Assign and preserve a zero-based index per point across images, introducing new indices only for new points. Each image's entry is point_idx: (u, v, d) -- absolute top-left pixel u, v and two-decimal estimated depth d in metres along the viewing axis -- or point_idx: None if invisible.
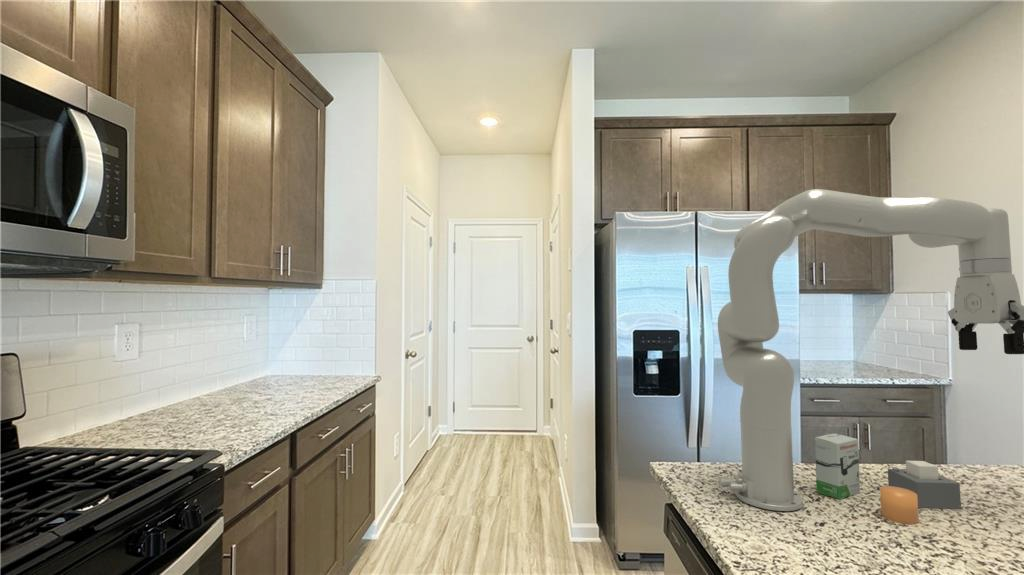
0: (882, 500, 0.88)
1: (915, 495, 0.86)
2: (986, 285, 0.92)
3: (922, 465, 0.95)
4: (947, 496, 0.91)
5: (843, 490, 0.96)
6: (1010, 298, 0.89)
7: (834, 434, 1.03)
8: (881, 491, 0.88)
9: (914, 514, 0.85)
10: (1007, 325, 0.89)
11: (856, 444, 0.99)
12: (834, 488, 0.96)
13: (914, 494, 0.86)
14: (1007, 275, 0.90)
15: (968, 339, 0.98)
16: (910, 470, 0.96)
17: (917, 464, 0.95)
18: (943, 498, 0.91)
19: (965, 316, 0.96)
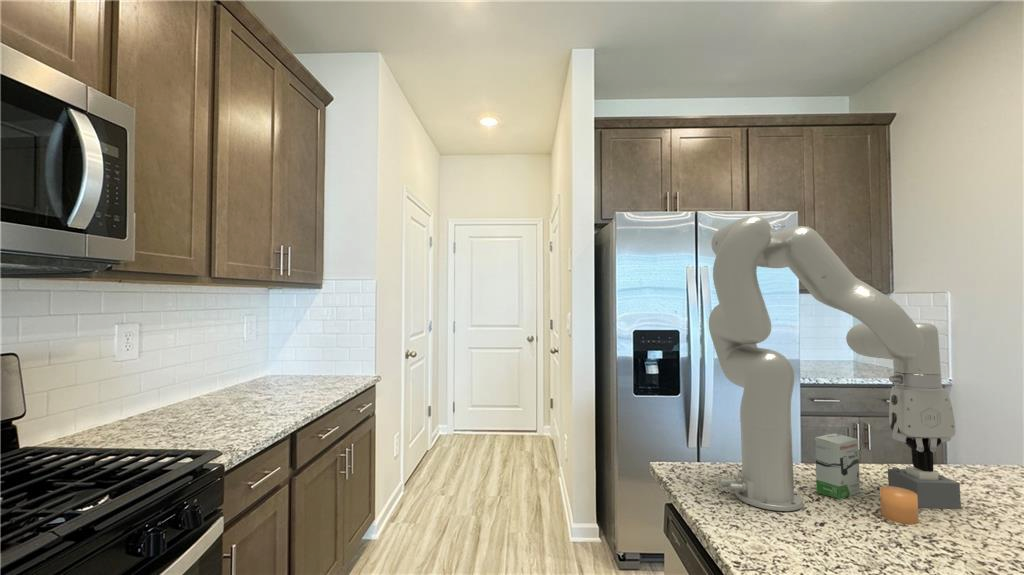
0: (882, 500, 0.88)
1: (915, 495, 0.86)
2: (944, 400, 0.94)
3: (922, 471, 0.94)
4: (947, 496, 0.91)
5: (843, 490, 0.96)
6: None
7: (834, 434, 1.03)
8: (881, 491, 0.88)
9: (914, 514, 0.85)
10: (935, 444, 0.94)
11: (856, 444, 0.99)
12: (834, 488, 0.96)
13: (914, 494, 0.86)
14: None
15: None
16: (910, 475, 0.96)
17: (917, 470, 0.95)
18: (943, 498, 0.91)
19: (921, 431, 0.93)
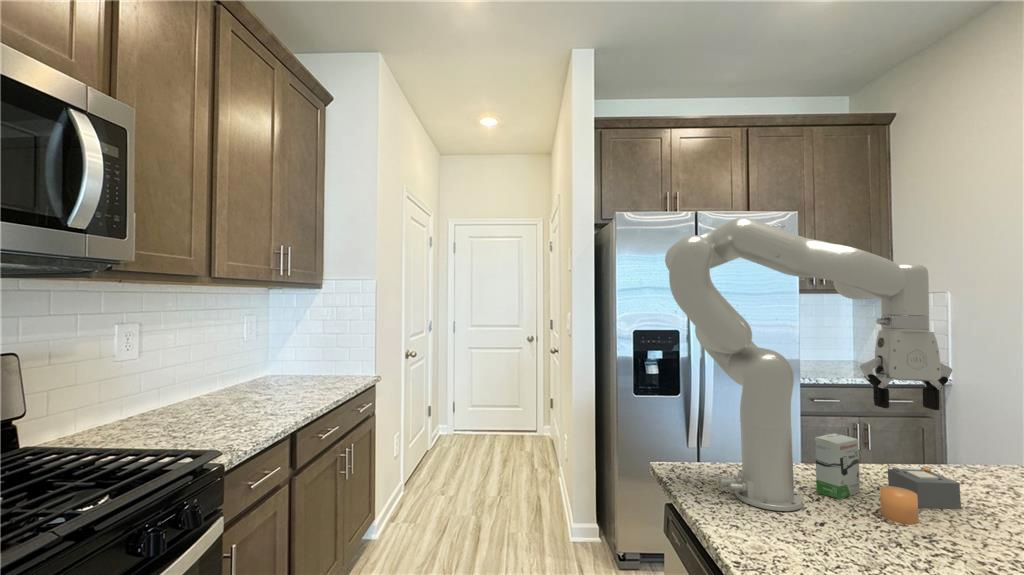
0: (882, 500, 0.88)
1: (915, 495, 0.86)
2: (931, 342, 0.91)
3: (923, 476, 0.94)
4: (947, 496, 0.91)
5: (843, 490, 0.96)
6: None
7: (834, 434, 1.03)
8: (881, 491, 0.88)
9: (914, 514, 0.85)
10: (938, 382, 0.92)
11: (856, 444, 0.99)
12: (834, 488, 0.96)
13: (914, 494, 0.86)
14: None
15: None
16: None
17: (918, 475, 0.95)
18: (943, 498, 0.91)
19: (907, 373, 0.91)
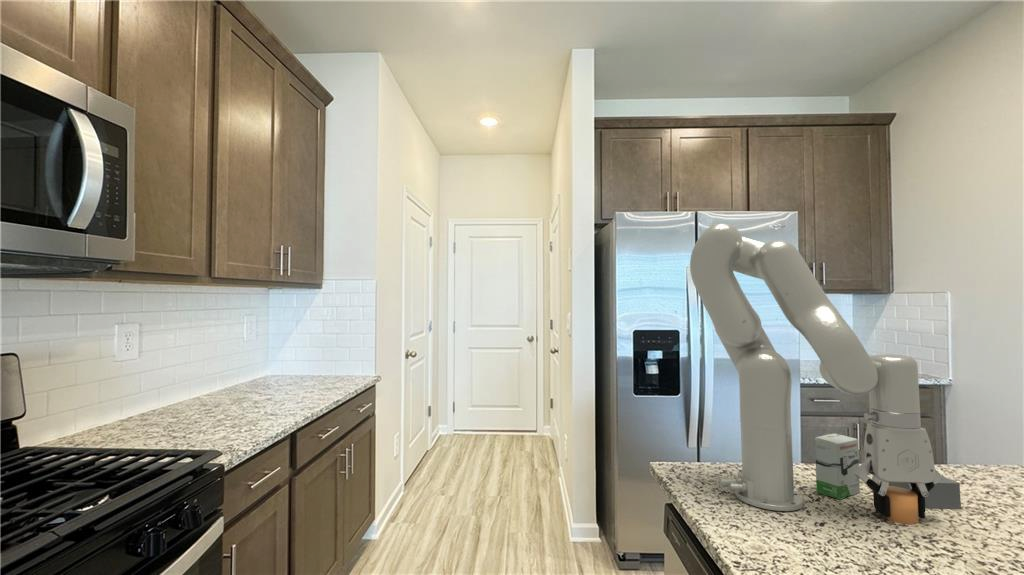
0: None
1: (915, 495, 0.86)
2: (923, 441, 0.85)
3: None
4: (947, 496, 0.91)
5: (843, 490, 0.96)
6: None
7: (834, 434, 1.03)
8: None
9: (914, 514, 0.85)
10: (925, 488, 0.86)
11: (856, 444, 0.99)
12: (834, 488, 0.96)
13: (914, 494, 0.86)
14: None
15: None
16: None
17: None
18: (943, 498, 0.91)
19: (897, 475, 0.85)
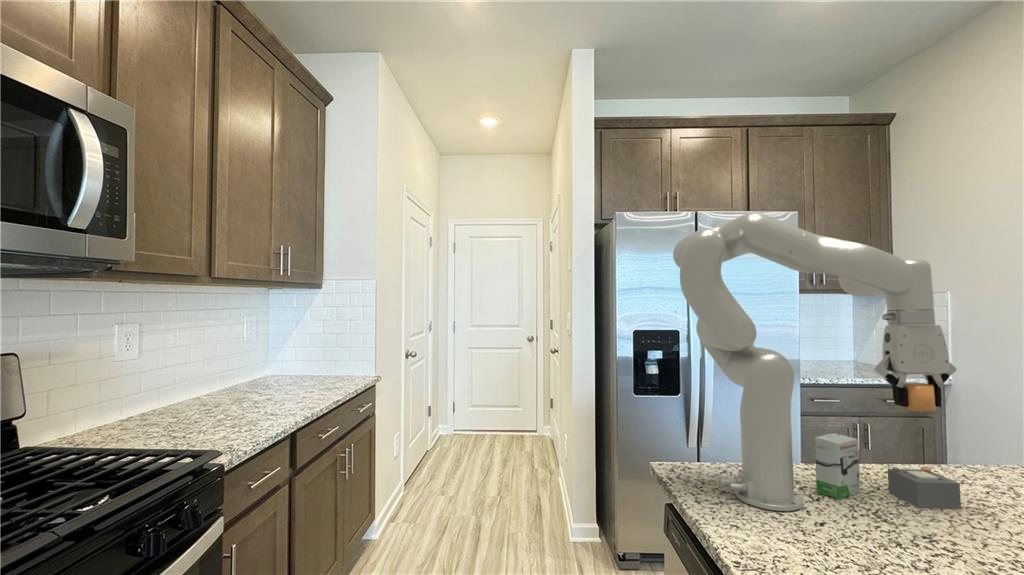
0: None
1: (932, 385, 0.93)
2: (937, 335, 0.93)
3: (923, 476, 0.94)
4: (947, 496, 0.91)
5: (843, 490, 0.96)
6: None
7: (834, 434, 1.03)
8: None
9: (931, 401, 0.92)
10: (940, 379, 0.94)
11: (856, 444, 0.99)
12: (834, 488, 0.96)
13: (931, 385, 0.94)
14: None
15: None
16: None
17: (918, 475, 0.95)
18: (943, 498, 0.91)
19: (914, 367, 0.93)
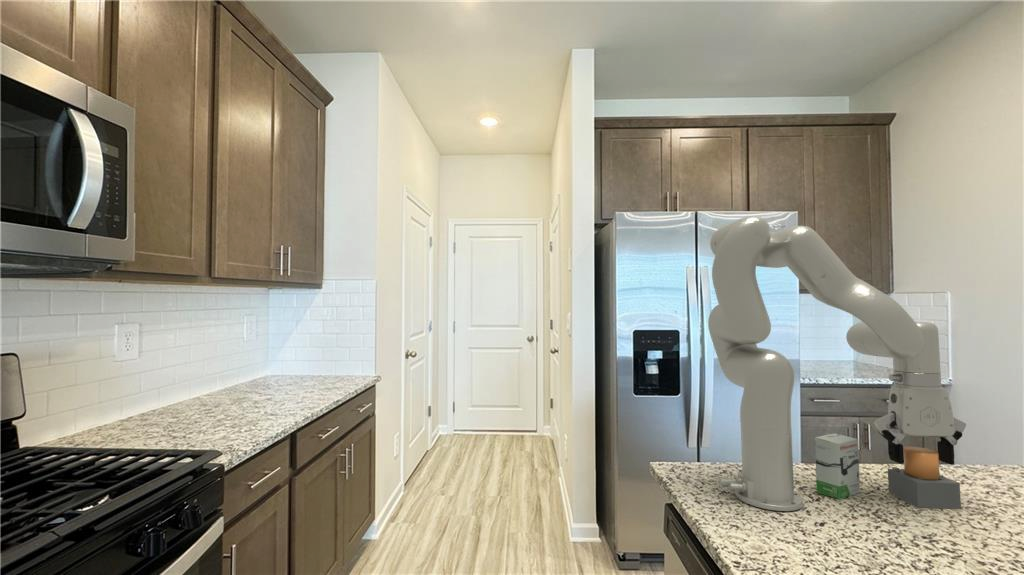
0: (906, 458, 0.96)
1: (936, 453, 0.94)
2: (943, 399, 0.94)
3: None
4: (947, 496, 0.91)
5: (843, 490, 0.96)
6: None
7: (834, 434, 1.03)
8: (905, 450, 0.97)
9: (935, 470, 0.93)
10: (952, 437, 0.94)
11: (856, 444, 0.99)
12: (834, 488, 0.96)
13: (935, 452, 0.94)
14: None
15: None
16: None
17: None
18: (943, 498, 0.91)
19: (920, 430, 0.93)
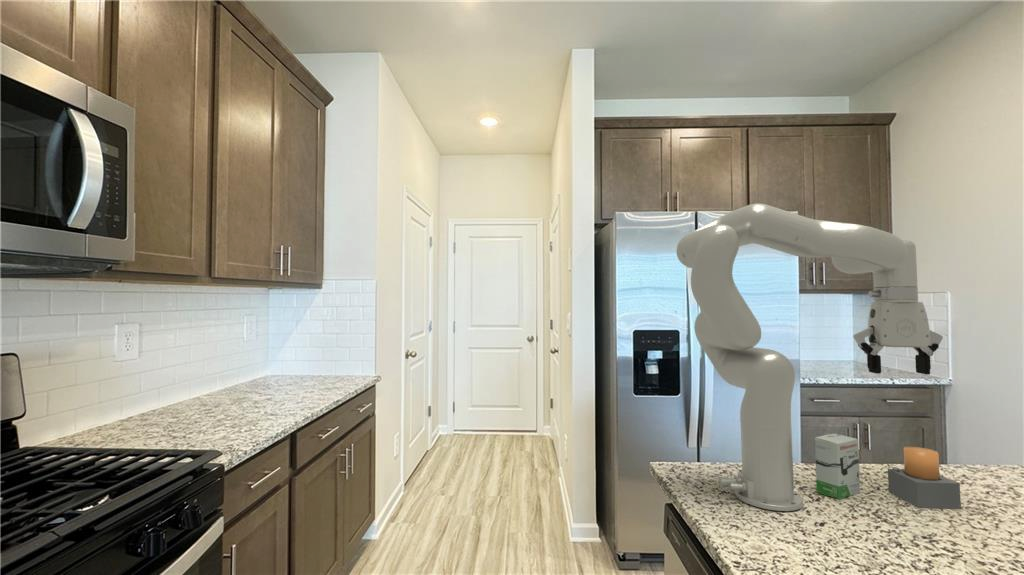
0: (906, 458, 0.96)
1: (936, 453, 0.94)
2: (919, 311, 0.98)
3: None
4: (947, 496, 0.91)
5: (843, 490, 0.96)
6: None
7: (834, 434, 1.03)
8: (905, 450, 0.96)
9: (935, 470, 0.93)
10: (928, 348, 0.99)
11: (856, 444, 0.99)
12: (834, 488, 0.96)
13: (935, 452, 0.94)
14: None
15: None
16: None
17: None
18: (943, 498, 0.91)
19: (897, 340, 0.99)
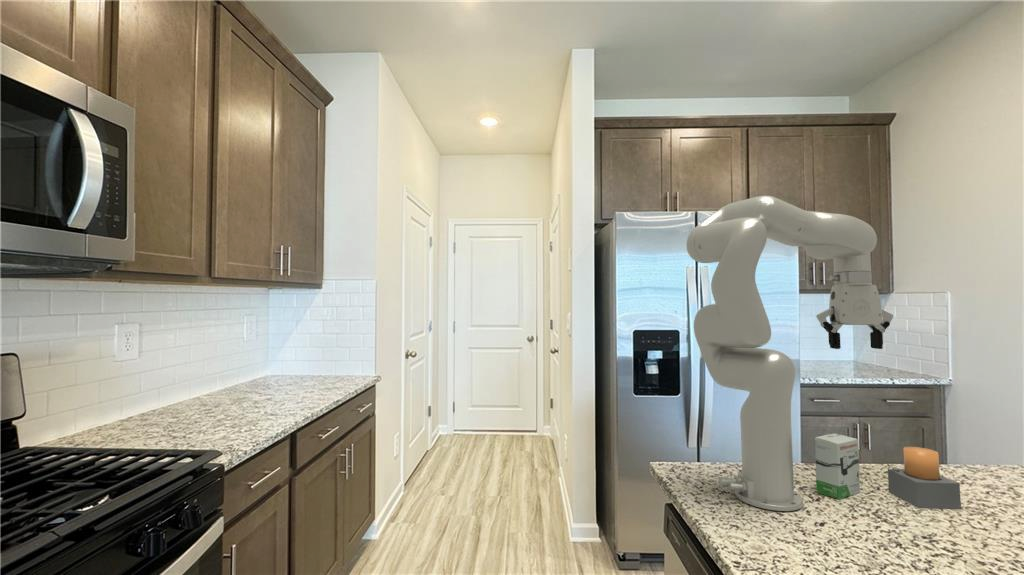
0: (906, 458, 0.96)
1: (936, 453, 0.94)
2: (873, 293, 1.11)
3: None
4: (947, 496, 0.91)
5: (843, 490, 0.96)
6: None
7: (834, 434, 1.03)
8: (905, 450, 0.97)
9: (935, 470, 0.93)
10: (881, 326, 1.11)
11: (856, 444, 0.99)
12: (834, 488, 0.96)
13: (935, 452, 0.94)
14: None
15: None
16: None
17: None
18: (943, 498, 0.91)
19: (853, 319, 1.11)
